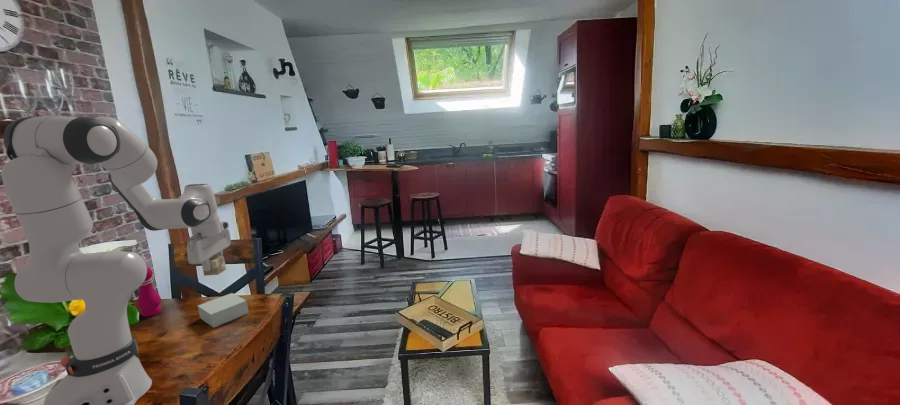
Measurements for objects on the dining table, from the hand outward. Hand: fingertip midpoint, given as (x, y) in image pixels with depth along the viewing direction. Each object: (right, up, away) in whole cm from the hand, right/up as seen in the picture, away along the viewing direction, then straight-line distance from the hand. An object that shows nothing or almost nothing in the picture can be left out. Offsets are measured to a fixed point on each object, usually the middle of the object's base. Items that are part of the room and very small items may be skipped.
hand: (214, 266), depth 137 cm
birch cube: (0, -2, 0) cm, 2 cm away
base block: (+1, -19, +4) cm, 19 cm away
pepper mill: (-30, -19, +10) cm, 37 cm away
